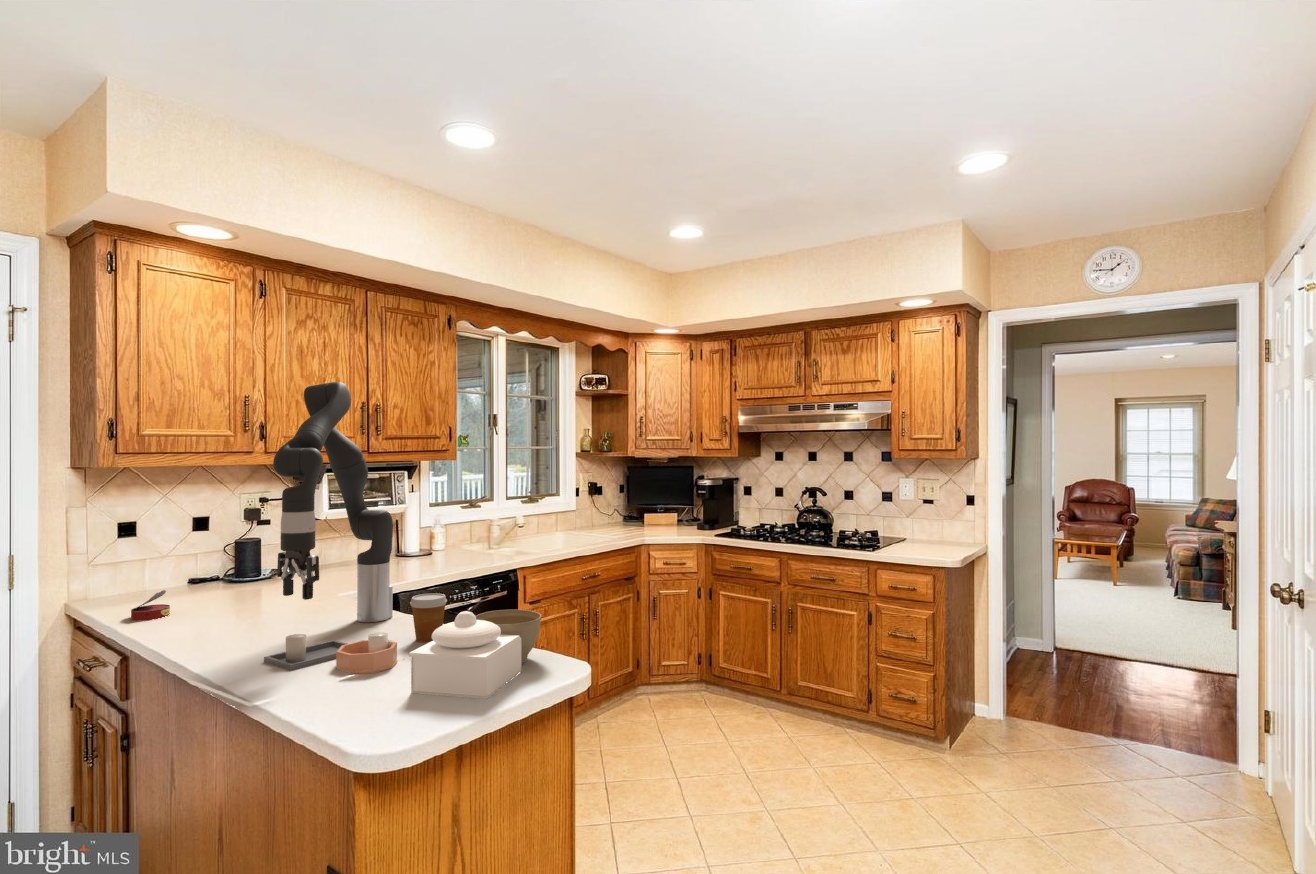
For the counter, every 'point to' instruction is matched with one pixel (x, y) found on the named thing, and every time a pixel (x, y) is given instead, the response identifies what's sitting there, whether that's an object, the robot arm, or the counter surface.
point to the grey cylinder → (295, 648)
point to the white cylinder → (377, 642)
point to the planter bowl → (516, 626)
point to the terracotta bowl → (365, 658)
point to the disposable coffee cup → (427, 615)
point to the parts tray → (307, 655)
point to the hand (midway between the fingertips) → (297, 597)
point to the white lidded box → (465, 659)
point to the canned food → (150, 610)
